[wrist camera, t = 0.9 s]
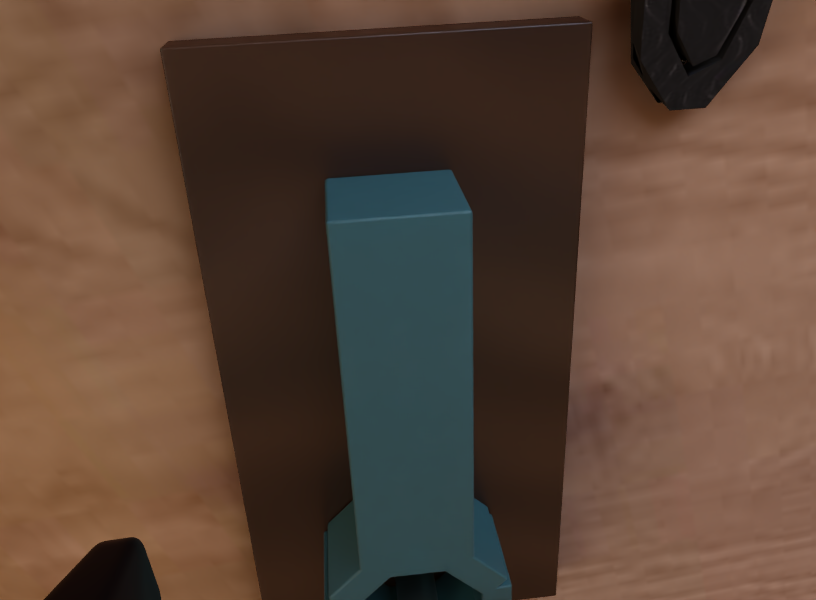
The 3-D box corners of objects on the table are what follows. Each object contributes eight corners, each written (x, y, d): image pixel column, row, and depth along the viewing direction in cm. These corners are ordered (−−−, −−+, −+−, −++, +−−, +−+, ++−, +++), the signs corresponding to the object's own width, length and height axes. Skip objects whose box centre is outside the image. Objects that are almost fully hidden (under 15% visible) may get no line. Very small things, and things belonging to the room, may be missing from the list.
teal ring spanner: (491, 593, 26) (510, 670, 24) (333, 611, 26) (335, 691, 23) (495, 165, 19) (522, 206, 17) (279, 180, 19) (273, 226, 16)
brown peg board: (548, 573, 28) (609, 749, 22) (268, 605, 27) (255, 795, 21) (580, 15, 19) (695, 64, 13) (166, 41, 18) (97, 104, 12)
